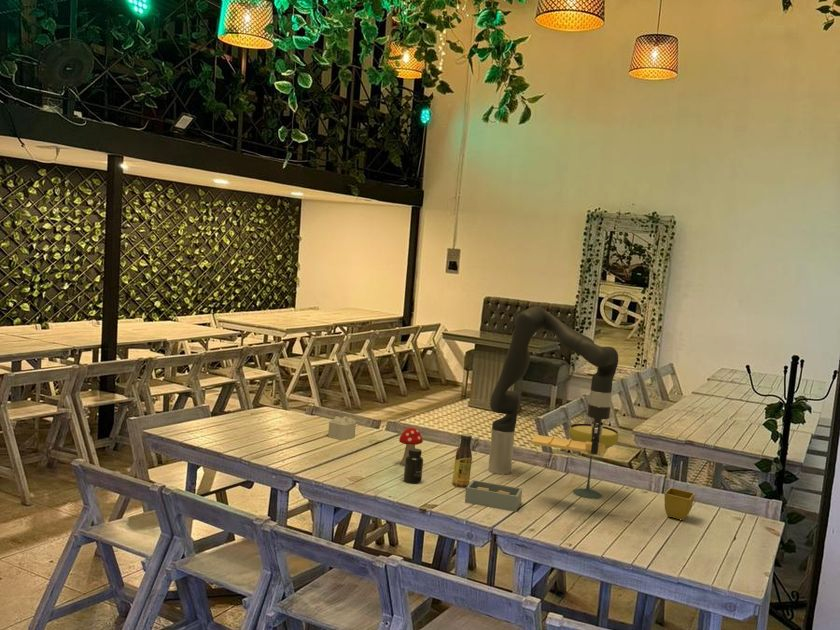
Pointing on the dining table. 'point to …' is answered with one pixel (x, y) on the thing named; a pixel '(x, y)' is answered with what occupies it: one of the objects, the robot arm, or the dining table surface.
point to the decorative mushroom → (410, 440)
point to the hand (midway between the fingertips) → (594, 452)
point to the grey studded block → (342, 428)
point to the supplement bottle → (413, 466)
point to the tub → (493, 495)
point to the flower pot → (678, 503)
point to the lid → (565, 443)
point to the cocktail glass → (584, 434)
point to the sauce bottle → (463, 462)
